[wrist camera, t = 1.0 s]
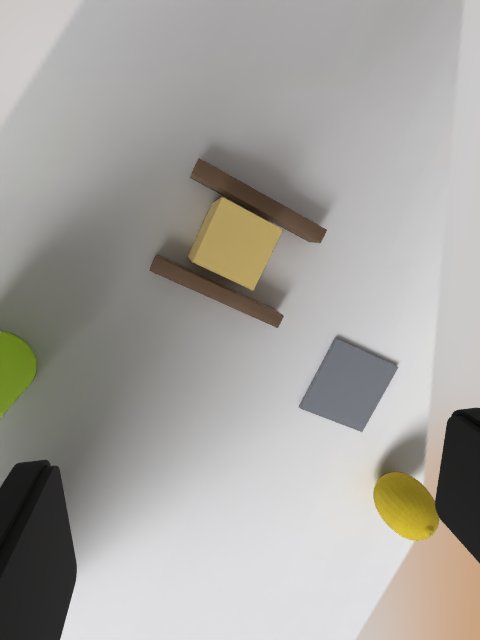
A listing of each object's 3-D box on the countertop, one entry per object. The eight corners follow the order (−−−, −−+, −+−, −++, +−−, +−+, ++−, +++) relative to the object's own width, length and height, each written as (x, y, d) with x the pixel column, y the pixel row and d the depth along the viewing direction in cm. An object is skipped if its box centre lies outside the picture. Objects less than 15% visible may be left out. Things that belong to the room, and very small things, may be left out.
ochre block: (238, 280, 33) (253, 290, 27) (187, 256, 32) (192, 262, 26) (262, 229, 32) (283, 229, 27) (211, 203, 31) (222, 196, 25)
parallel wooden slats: (270, 321, 35) (277, 328, 32) (150, 267, 31) (149, 270, 29) (315, 230, 33) (327, 229, 31) (196, 163, 30) (198, 158, 28)
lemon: (366, 457, 41) (413, 509, 33) (409, 458, 42) (463, 508, 34) (355, 499, 42) (398, 559, 34) (397, 499, 43) (447, 557, 35)
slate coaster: (360, 430, 40) (362, 431, 39) (298, 406, 37) (300, 408, 37) (396, 365, 38) (398, 367, 38) (335, 337, 36) (337, 338, 36)
